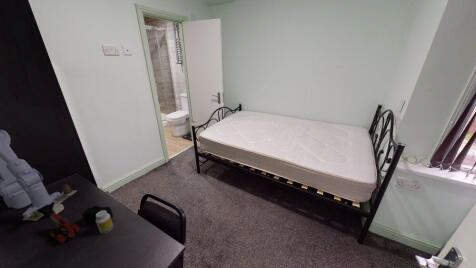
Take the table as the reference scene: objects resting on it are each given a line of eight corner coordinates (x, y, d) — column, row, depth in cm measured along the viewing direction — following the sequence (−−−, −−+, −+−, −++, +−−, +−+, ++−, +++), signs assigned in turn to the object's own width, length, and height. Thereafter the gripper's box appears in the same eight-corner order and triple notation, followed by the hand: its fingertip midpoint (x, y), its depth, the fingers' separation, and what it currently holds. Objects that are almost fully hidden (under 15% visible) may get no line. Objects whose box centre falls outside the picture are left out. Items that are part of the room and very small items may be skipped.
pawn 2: (61, 194, 102) (58, 186, 100) (68, 190, 105) (64, 182, 103) (68, 194, 102) (64, 187, 99) (74, 190, 105) (70, 182, 103)
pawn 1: (26, 219, 86) (20, 210, 83) (35, 213, 89) (30, 204, 87) (33, 220, 85) (28, 211, 83) (41, 213, 89) (37, 205, 87)
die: (49, 215, 89) (46, 209, 88) (58, 209, 93) (55, 203, 92) (57, 216, 89) (54, 210, 87) (65, 210, 93) (62, 204, 91)
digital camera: (115, 215, 90) (111, 204, 87) (108, 224, 85) (104, 213, 82) (94, 215, 89) (90, 205, 87) (86, 225, 84) (81, 214, 82)
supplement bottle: (116, 225, 84) (111, 210, 80) (106, 235, 79) (99, 219, 76) (107, 223, 86) (102, 207, 82) (97, 232, 81) (90, 216, 77)
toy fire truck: (65, 246, 74) (55, 229, 71) (50, 236, 79) (40, 219, 75) (84, 233, 80) (76, 216, 76) (68, 224, 85) (60, 207, 81)
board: (22, 221, 86) (21, 219, 85) (66, 191, 106) (65, 189, 106) (37, 222, 85) (36, 220, 85) (78, 191, 106) (77, 190, 105)
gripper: (28, 207, 75) (41, 229, 81) (61, 185, 89) (71, 205, 94) (13, 206, 76) (27, 228, 81) (48, 184, 89) (59, 205, 94)
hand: (49, 216), depth 88 cm, fingers closed
